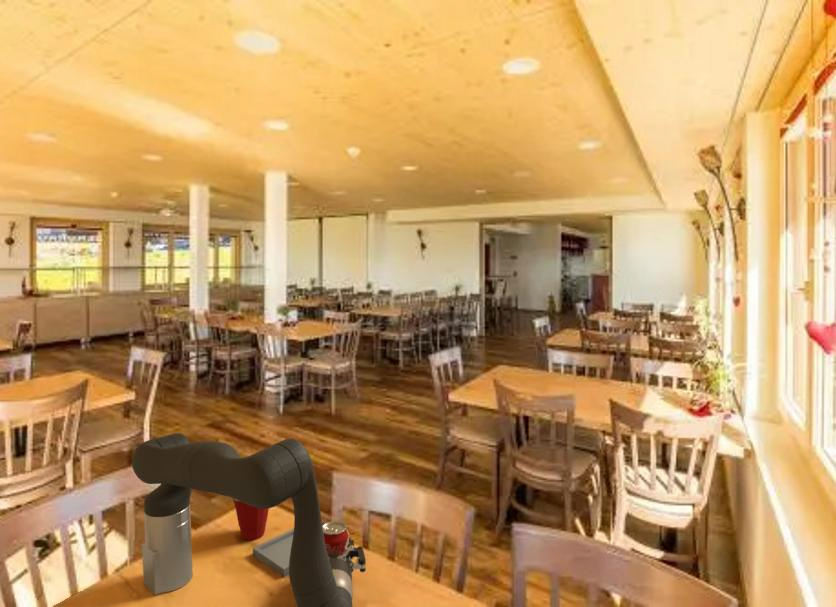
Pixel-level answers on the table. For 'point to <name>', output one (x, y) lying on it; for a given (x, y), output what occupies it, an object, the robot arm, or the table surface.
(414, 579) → the table surface
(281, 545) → the serving tray
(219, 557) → the table surface
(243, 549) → the table surface
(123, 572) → the table surface
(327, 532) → the soda can
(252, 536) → the plastic cup
